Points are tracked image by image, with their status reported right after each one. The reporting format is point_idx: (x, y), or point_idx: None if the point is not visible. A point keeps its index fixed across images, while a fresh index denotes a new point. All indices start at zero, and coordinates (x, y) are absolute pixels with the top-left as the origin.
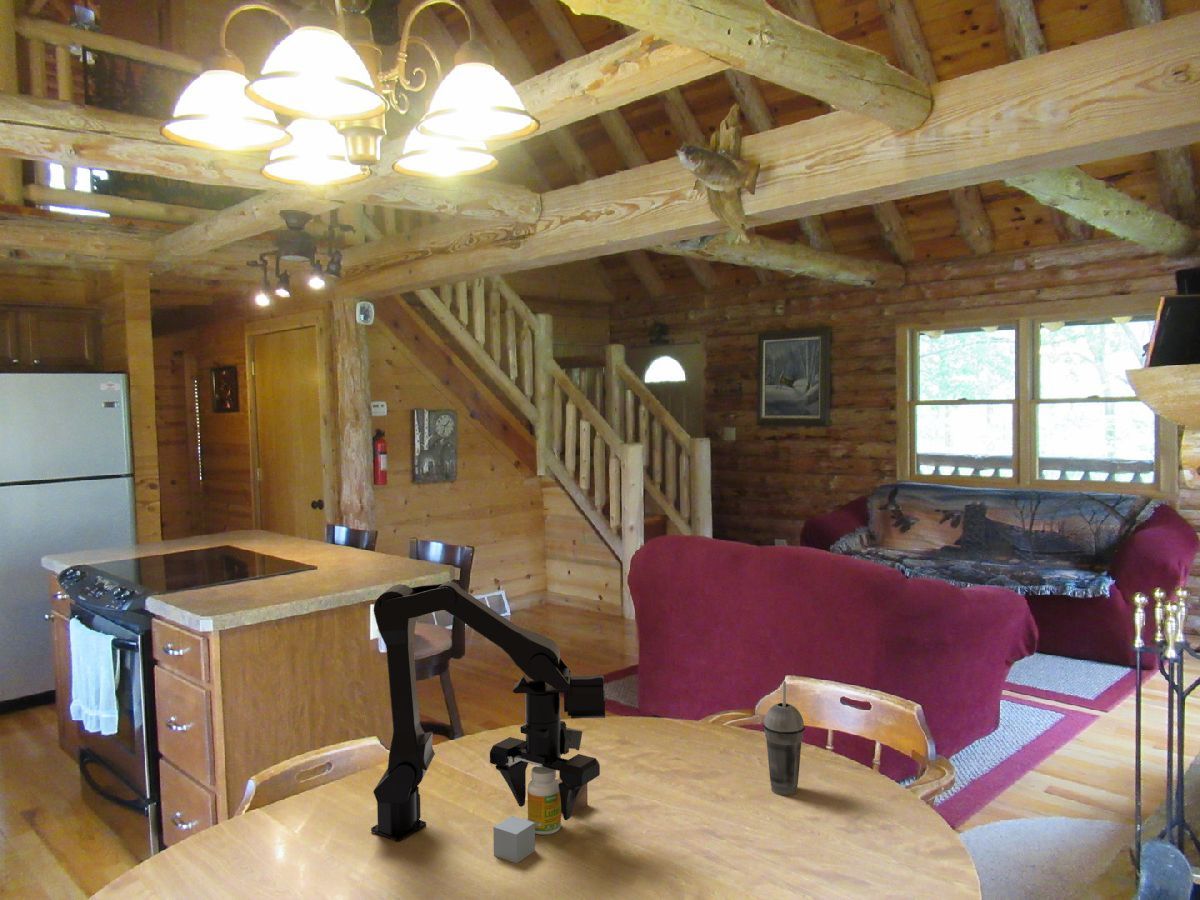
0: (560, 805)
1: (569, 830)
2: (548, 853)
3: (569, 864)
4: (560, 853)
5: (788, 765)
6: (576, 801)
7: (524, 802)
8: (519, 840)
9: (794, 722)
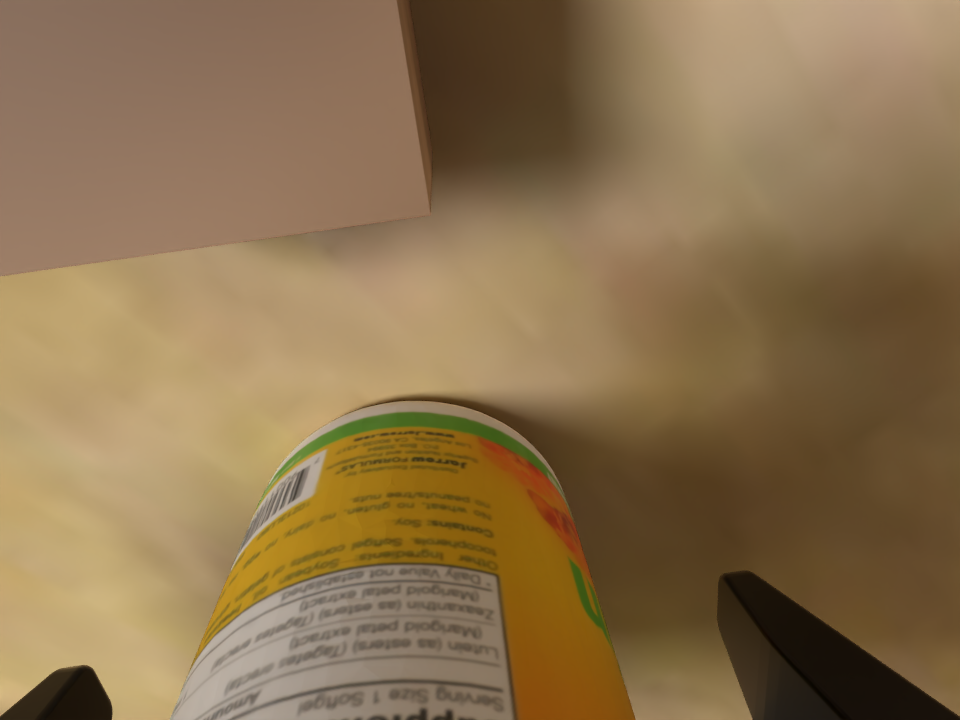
0: (591, 617)
1: (635, 423)
2: (711, 716)
3: None
4: None
5: None
6: (414, 58)
7: (77, 693)
8: None
9: None
